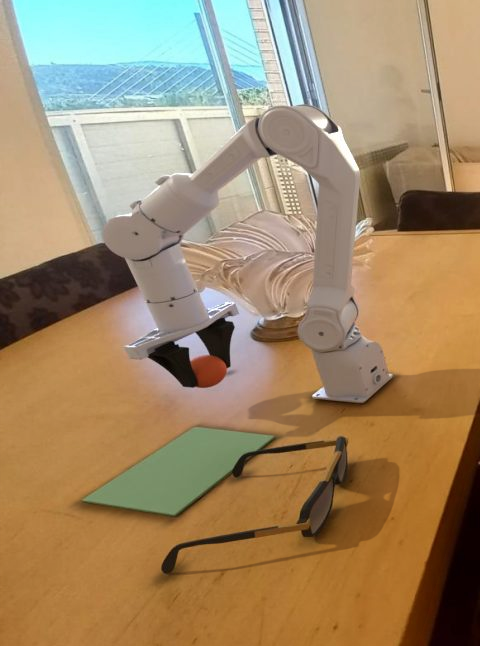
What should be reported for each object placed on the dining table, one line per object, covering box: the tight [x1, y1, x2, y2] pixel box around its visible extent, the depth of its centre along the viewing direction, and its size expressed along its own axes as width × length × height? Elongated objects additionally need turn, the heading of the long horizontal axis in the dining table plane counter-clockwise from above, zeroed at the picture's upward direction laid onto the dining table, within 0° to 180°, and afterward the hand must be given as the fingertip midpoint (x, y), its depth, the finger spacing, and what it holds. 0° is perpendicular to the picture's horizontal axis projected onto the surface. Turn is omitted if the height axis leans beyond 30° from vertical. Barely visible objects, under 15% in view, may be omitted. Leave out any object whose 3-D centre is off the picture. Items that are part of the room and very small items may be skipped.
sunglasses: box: [160, 435, 349, 575], centre depth 55 cm, size 14×15×5 cm
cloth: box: [81, 426, 276, 517], centre depth 63 cm, size 14×14×1 cm
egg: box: [190, 354, 228, 389], centre depth 72 cm, size 5×5×5 cm
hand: (208, 376), depth 73 cm, fingers closed on egg, 5 cm apart
